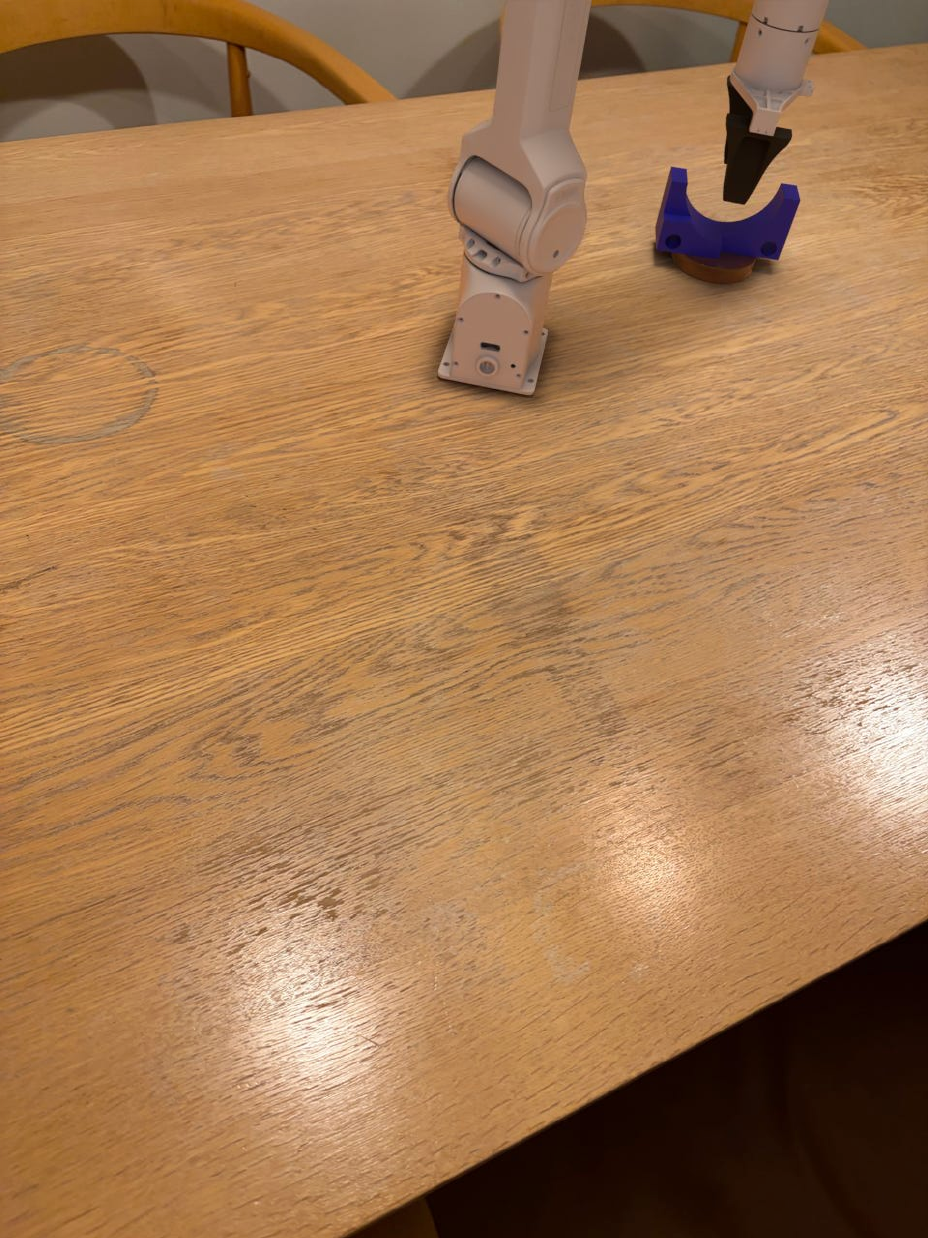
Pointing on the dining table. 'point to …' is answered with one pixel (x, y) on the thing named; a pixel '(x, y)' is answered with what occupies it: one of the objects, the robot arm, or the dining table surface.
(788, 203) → the blue clamp bracket
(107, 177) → the dining table surface
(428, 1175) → the dining table surface
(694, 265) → the walnut chip
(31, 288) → the dining table surface
